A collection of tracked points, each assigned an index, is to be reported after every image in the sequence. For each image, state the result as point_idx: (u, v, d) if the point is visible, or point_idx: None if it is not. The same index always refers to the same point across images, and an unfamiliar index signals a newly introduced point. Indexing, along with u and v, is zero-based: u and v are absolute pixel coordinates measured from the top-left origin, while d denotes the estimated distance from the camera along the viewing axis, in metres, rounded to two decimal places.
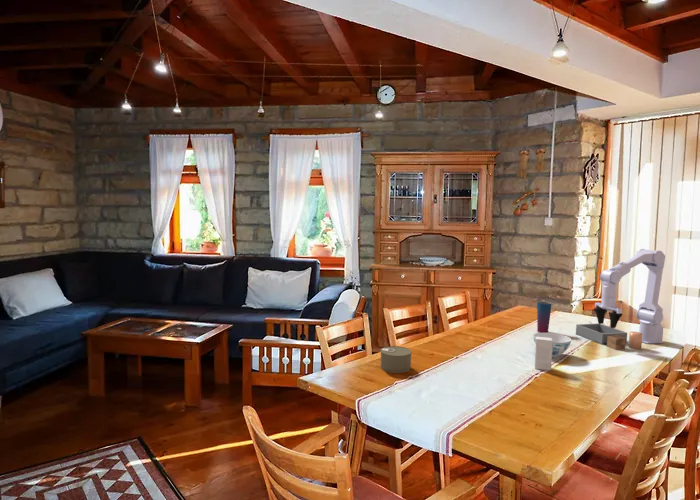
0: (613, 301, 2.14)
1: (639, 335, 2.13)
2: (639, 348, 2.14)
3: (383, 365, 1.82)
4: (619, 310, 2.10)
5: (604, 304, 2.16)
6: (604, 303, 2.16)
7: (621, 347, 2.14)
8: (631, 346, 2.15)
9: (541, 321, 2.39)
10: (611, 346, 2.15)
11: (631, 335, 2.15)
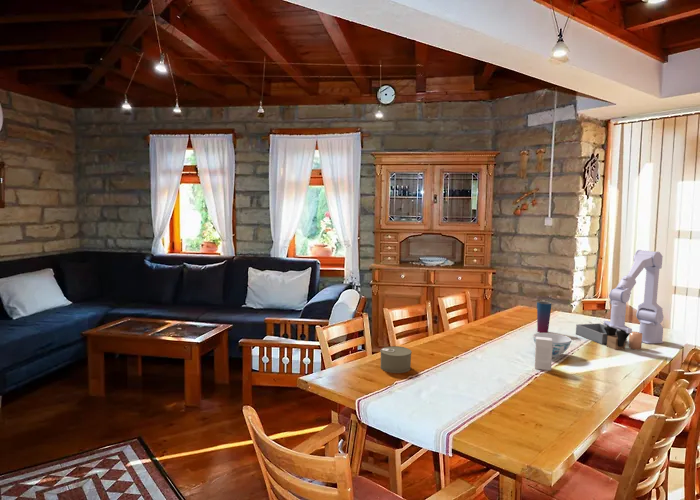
0: (622, 320, 2.12)
1: (639, 335, 2.13)
2: (639, 348, 2.14)
3: (383, 365, 1.82)
4: (629, 330, 2.08)
5: (613, 323, 2.14)
6: (613, 322, 2.14)
7: (621, 347, 2.14)
8: (631, 346, 2.15)
9: (541, 321, 2.39)
10: (611, 346, 2.15)
11: (631, 335, 2.15)
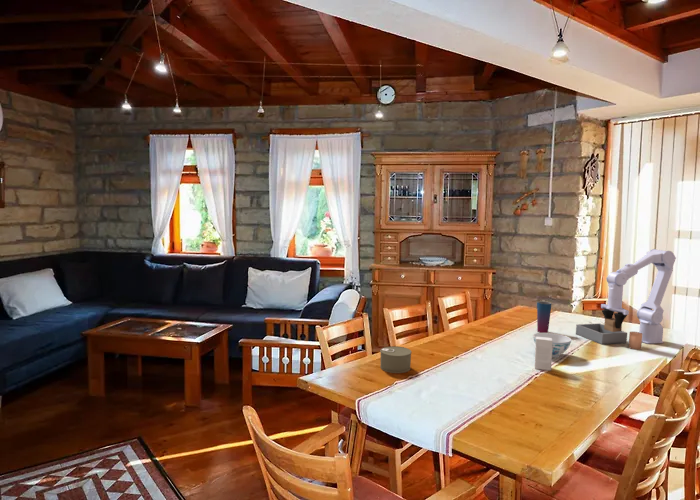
0: (620, 303, 2.19)
1: (639, 335, 2.13)
2: (639, 348, 2.14)
3: (383, 365, 1.82)
4: (626, 311, 2.15)
5: (611, 306, 2.21)
6: (611, 305, 2.21)
7: (618, 329, 2.21)
8: (631, 346, 2.15)
9: (541, 321, 2.39)
10: (608, 328, 2.22)
11: (631, 335, 2.15)
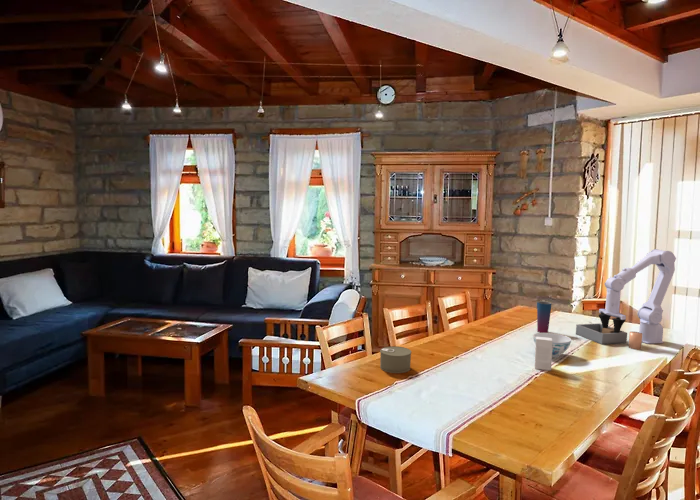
0: (617, 308, 2.23)
1: (639, 335, 2.13)
2: (639, 348, 2.14)
3: (383, 365, 1.82)
4: (623, 316, 2.19)
5: (608, 310, 2.25)
6: (608, 309, 2.25)
7: None
8: (631, 346, 2.15)
9: (541, 321, 2.39)
10: None
11: (631, 335, 2.15)
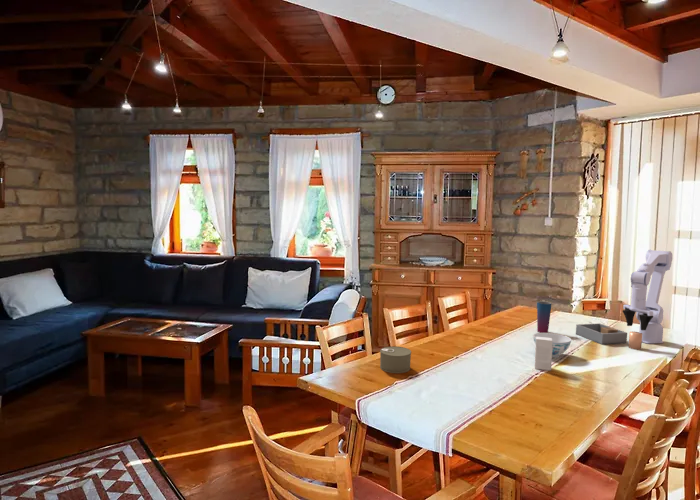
0: (643, 303, 2.12)
1: (639, 335, 2.13)
2: (639, 348, 2.14)
3: (382, 365, 1.82)
4: (650, 312, 2.08)
5: (634, 306, 2.13)
6: (634, 305, 2.13)
7: None
8: (631, 346, 2.15)
9: (541, 321, 2.39)
10: None
11: (631, 335, 2.15)
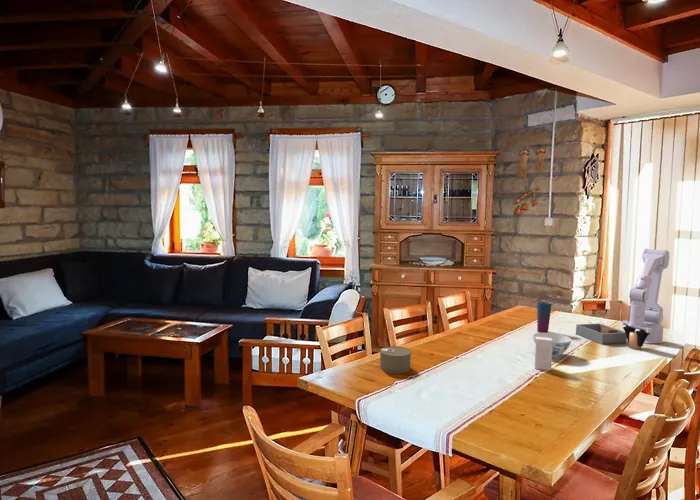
0: (642, 320, 2.12)
1: None
2: (639, 348, 2.14)
3: (382, 365, 1.81)
4: (649, 329, 2.08)
5: (633, 323, 2.14)
6: (633, 322, 2.14)
7: None
8: (631, 346, 2.15)
9: (541, 321, 2.39)
10: None
11: (631, 335, 2.15)
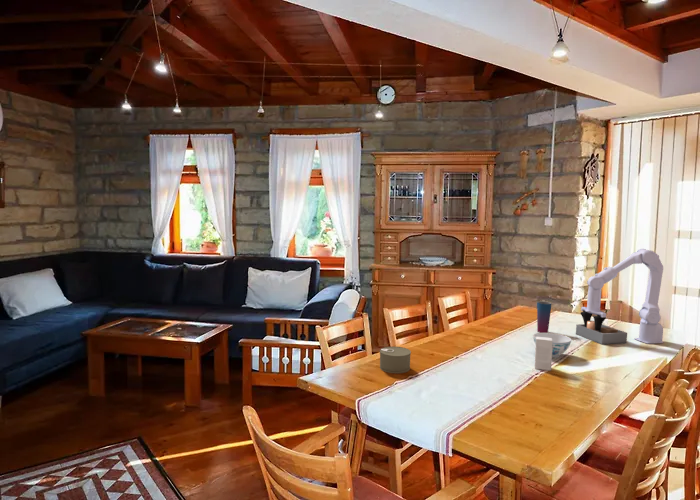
0: (598, 305, 2.29)
1: (594, 324, 2.30)
2: None
3: (382, 365, 1.81)
4: (603, 314, 2.25)
5: (589, 308, 2.30)
6: (589, 307, 2.30)
7: None
8: None
9: (541, 321, 2.39)
10: None
11: (588, 323, 2.32)
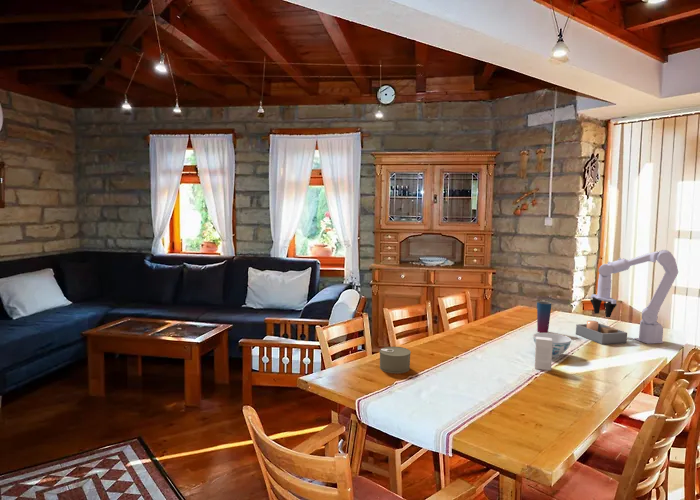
0: (608, 292, 2.33)
1: (594, 323, 2.30)
2: None
3: (382, 365, 1.81)
4: (613, 301, 2.29)
5: (600, 295, 2.35)
6: (600, 294, 2.35)
7: None
8: None
9: (541, 321, 2.39)
10: None
11: (587, 323, 2.32)
